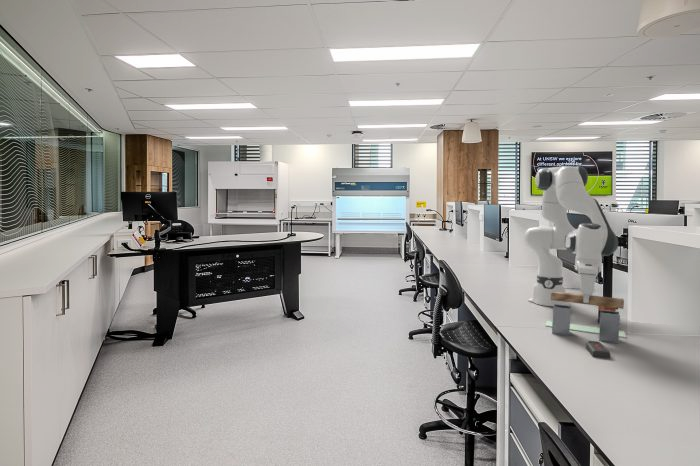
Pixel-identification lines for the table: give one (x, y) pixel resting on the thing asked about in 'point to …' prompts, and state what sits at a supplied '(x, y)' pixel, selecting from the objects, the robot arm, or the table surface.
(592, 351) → the usb drive
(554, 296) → the rail
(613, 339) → the stand
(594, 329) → the mat
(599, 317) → the battery
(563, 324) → the stand
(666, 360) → the table surface
